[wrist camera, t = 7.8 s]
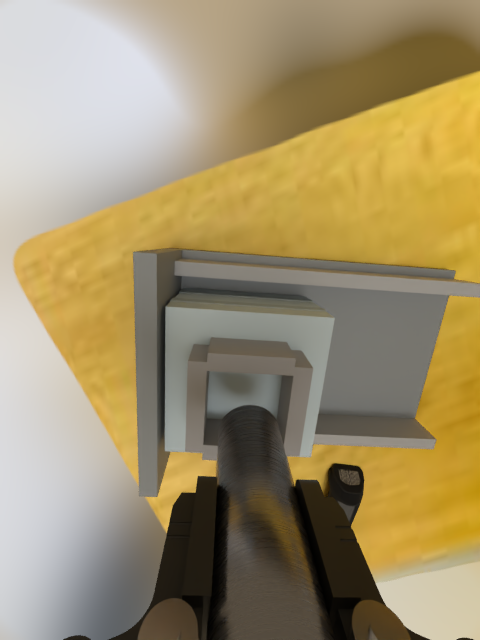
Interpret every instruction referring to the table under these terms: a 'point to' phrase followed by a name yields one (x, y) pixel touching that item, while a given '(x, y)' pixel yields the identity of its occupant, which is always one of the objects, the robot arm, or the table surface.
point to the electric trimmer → (346, 487)
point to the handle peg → (261, 540)
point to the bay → (345, 348)
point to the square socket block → (243, 365)
